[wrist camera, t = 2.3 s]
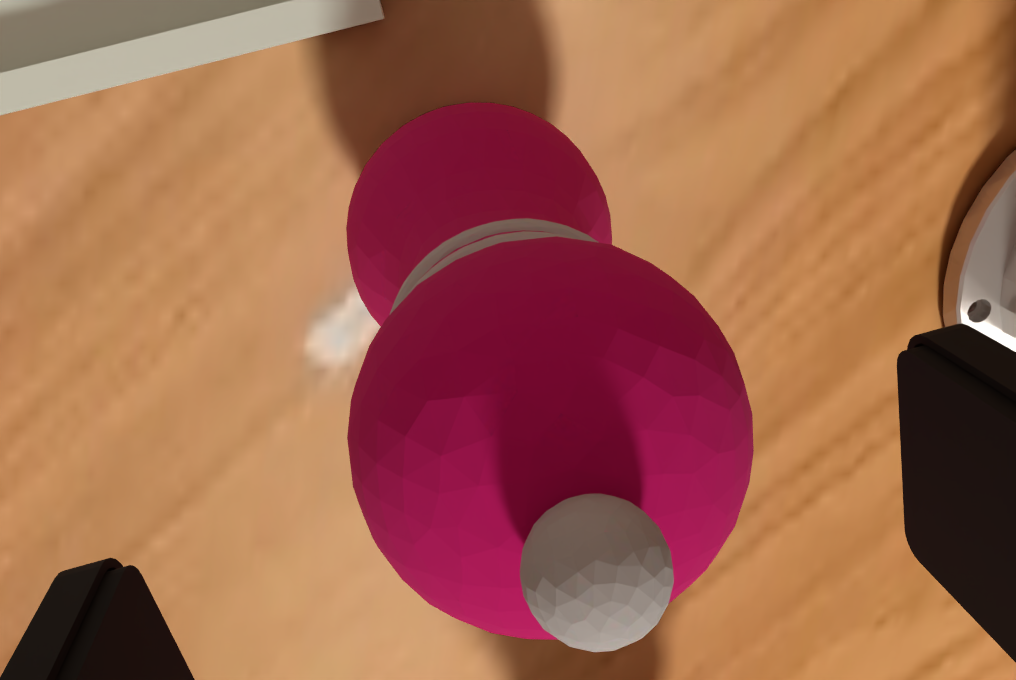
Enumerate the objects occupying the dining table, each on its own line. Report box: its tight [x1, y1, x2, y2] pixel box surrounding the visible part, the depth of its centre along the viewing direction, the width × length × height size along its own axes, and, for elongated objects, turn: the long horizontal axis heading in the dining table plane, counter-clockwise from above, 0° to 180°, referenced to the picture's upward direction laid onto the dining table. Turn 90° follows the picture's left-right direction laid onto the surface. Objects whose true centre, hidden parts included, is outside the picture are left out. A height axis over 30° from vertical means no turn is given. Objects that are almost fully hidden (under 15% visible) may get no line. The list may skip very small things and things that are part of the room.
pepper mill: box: [346, 103, 753, 652], centre depth 18 cm, size 7×7×20 cm
